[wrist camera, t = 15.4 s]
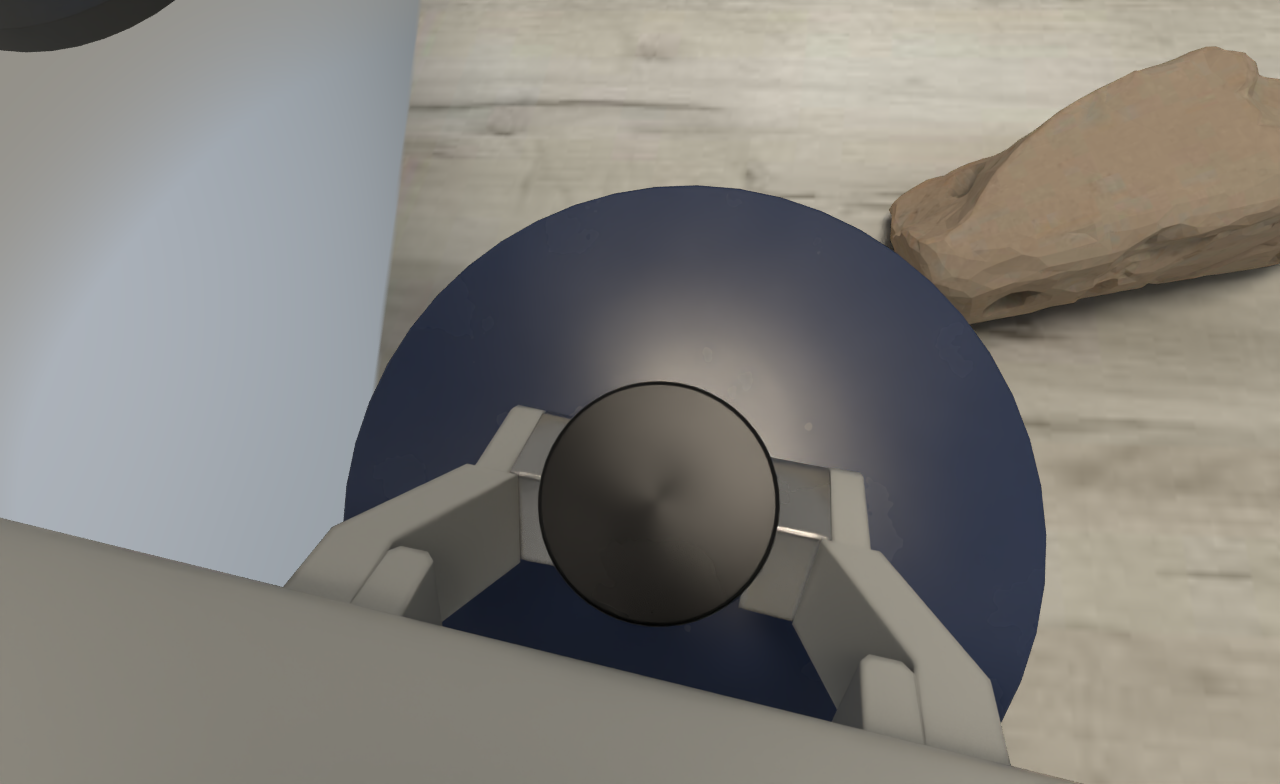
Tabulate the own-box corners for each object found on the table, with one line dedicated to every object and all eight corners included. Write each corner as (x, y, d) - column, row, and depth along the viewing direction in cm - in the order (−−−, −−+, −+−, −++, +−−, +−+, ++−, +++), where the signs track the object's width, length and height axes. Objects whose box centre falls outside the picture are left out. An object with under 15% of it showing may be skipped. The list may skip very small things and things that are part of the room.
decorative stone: (885, 353, 33) (965, 286, 23) (848, 212, 34) (909, 93, 25) (1309, 268, 32) (1580, 161, 22) (1253, 127, 33) (1484, -32, 24)
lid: (324, 826, 15) (-137, 1204, 7) (411, 200, 17) (157, -78, 9) (1031, 914, 13) (1550, 1536, 5) (1009, 215, 16) (1332, -100, 8)
